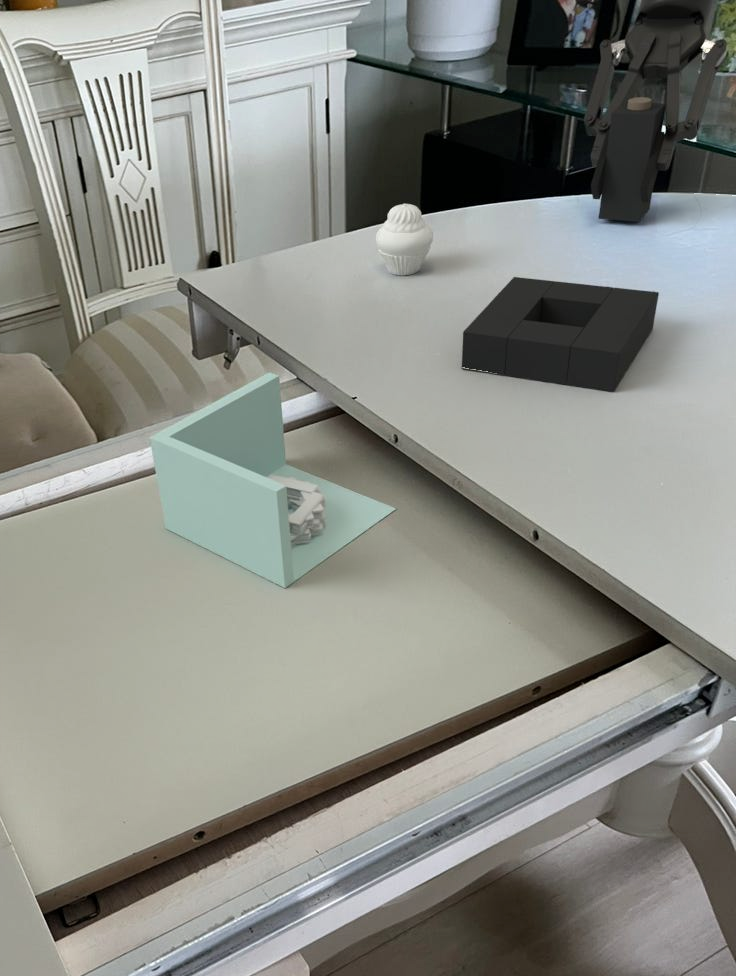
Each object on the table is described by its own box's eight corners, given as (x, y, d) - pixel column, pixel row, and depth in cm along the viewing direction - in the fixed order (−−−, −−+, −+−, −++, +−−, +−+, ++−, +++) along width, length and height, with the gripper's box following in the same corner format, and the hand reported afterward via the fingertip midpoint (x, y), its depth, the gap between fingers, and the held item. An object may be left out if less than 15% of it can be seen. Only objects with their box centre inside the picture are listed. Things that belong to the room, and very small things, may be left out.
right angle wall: (285, 588, 66) (276, 491, 62) (165, 528, 73) (149, 437, 69) (396, 508, 73) (396, 415, 68) (276, 460, 79) (268, 372, 75)
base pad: (652, 329, 92) (659, 292, 89) (613, 392, 83) (620, 352, 81) (511, 312, 97) (513, 276, 95) (461, 369, 89) (463, 331, 87)
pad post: (649, 209, 115) (667, 95, 107) (639, 221, 112) (657, 105, 104) (609, 206, 117) (623, 94, 109) (598, 218, 114) (612, 104, 106)
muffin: (364, 275, 108) (363, 208, 104) (396, 256, 112) (396, 191, 107) (412, 284, 105) (413, 215, 101) (443, 265, 109) (445, 198, 104)
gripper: (595, -30, 110) (535, 171, 110) (768, -36, 103) (703, 180, 103) (602, 16, 117) (545, 206, 117) (765, 14, 109) (704, 217, 109)
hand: (619, 193), depth 110 cm, fingers closed on pad post, 5 cm apart
